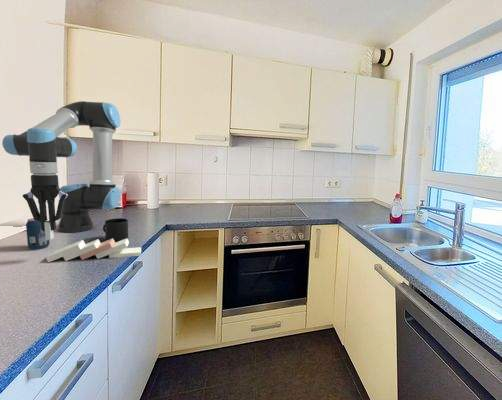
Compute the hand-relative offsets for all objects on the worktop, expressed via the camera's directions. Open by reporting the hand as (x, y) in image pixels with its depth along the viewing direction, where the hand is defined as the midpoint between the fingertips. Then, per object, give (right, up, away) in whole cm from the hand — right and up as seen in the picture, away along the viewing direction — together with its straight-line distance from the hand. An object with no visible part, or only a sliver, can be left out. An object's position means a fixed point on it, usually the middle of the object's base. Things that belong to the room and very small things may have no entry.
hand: (49, 238), depth 94 cm
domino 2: (+5, -7, +3) cm, 9 cm away
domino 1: (-1, -7, +1) cm, 7 cm away
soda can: (-14, -6, +12) cm, 19 cm away
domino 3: (+9, -7, +4) cm, 12 cm away
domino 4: (+14, -7, +6) cm, 17 cm away
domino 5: (+18, -7, +8) cm, 21 cm away
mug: (+10, -4, +27) cm, 29 cm away
